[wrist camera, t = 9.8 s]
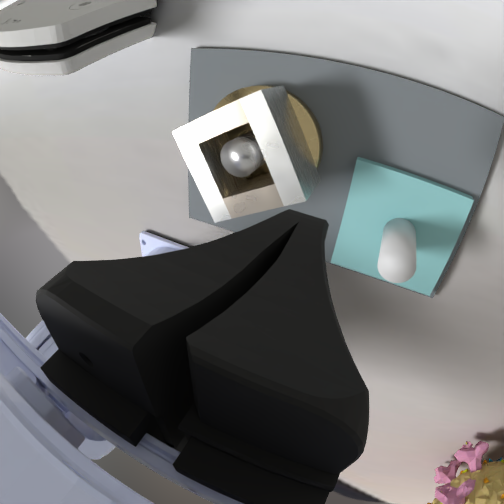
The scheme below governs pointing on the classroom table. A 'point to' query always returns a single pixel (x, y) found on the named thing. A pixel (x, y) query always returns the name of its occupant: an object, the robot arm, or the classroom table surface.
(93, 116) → the classroom table surface
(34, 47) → the hinge
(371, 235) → the stand
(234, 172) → the hub
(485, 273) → the classroom table surface
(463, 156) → the board
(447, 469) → the educational model
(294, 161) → the hollow square metal tube
